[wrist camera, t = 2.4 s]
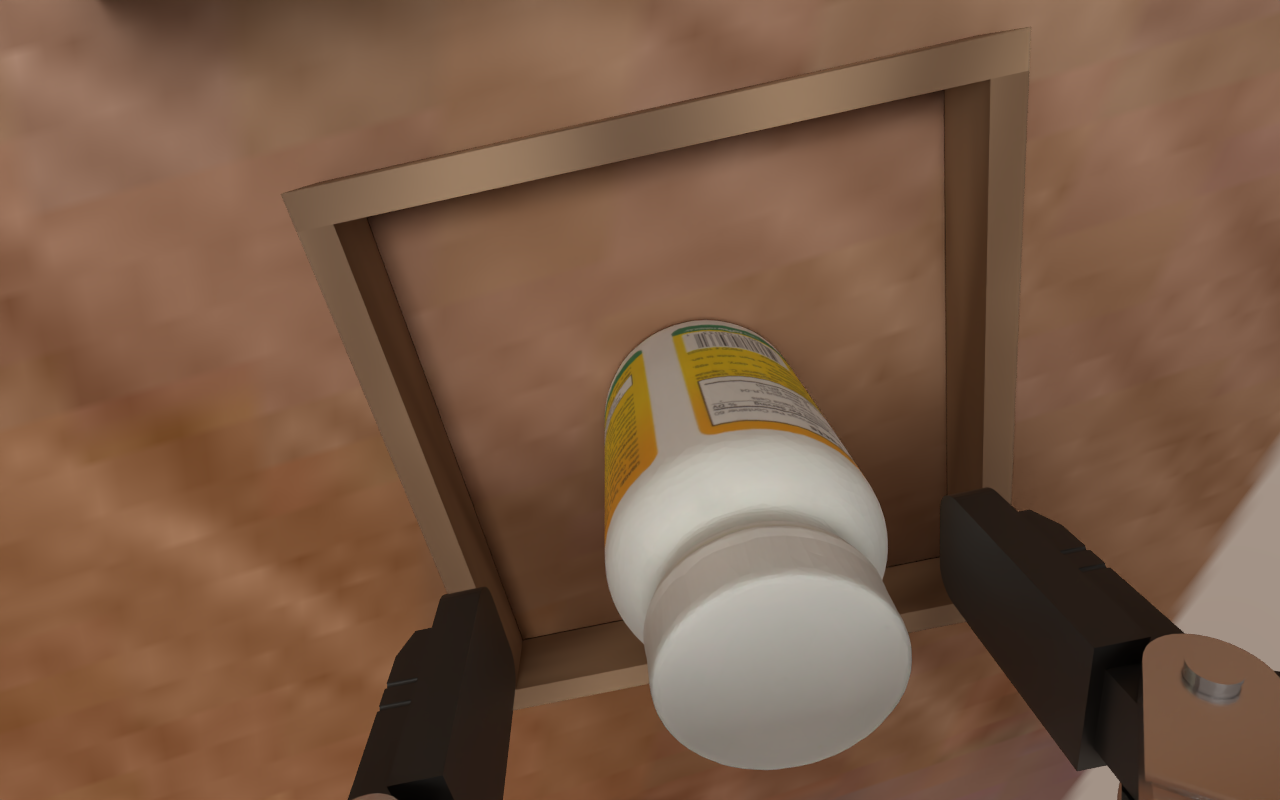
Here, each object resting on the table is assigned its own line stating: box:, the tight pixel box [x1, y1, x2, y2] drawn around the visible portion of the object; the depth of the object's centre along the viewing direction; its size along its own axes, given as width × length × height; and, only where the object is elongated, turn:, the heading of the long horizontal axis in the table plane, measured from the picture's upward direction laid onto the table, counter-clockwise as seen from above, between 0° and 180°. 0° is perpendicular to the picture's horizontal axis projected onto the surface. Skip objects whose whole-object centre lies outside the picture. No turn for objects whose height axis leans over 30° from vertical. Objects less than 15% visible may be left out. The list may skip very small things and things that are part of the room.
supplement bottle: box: [604, 320, 912, 770], centre depth 14 cm, size 5×5×10 cm
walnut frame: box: [281, 27, 1031, 710], centre depth 18 cm, size 16×16×2 cm
